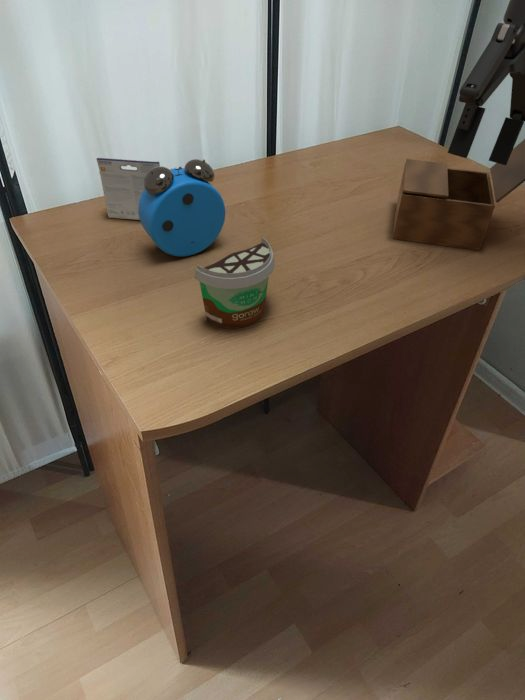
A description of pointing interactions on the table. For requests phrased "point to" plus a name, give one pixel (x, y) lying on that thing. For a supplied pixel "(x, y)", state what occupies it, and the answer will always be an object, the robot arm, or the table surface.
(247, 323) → the food container
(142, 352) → the table surface
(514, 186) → the flap
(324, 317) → the table surface
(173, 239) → the alarm clock
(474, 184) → the wooden box
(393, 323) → the table surface
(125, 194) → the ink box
